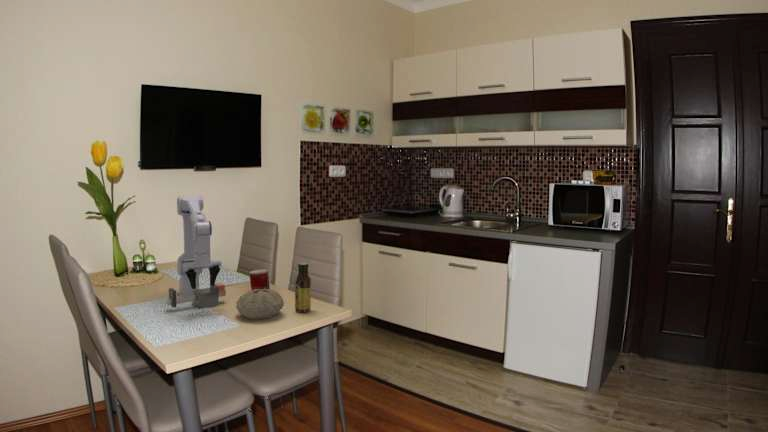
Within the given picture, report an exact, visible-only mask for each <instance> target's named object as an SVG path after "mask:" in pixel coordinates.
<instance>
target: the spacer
mask: <svg viewBox="0 0 768 432" xmlns="http://www.w3.org/2000/svg"><path fill="white" fill-rule="evenodd" d="M215 284H216V285H218V292H222V291H225V290H226V285H225V284H224V283H222V282H219V283H218V282H217V283H215Z"/></svg>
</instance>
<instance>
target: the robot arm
mask: <svg viewBox="0 0 768 432" xmlns="http://www.w3.org/2000/svg"><path fill="white" fill-rule="evenodd" d="M176 208H177V209H176V211H177V215H179V216H182V221H183V223H182V224H183V227H182V228H183V247H184V248H183V250H184V252H183V253H181V254H180V255H179V256H178V258H177V265H176V269H177V274H178V276H180V277H179V280H178V284H179V285H178V287H179V291H176V294H178V296H182V295H189V294H193V290H198V289H200V275H201V274H202V273H203V270H204V269H208V271H209V281H210V282H209V286H210V285H212V286H214V285H215V284H216V281H217V277H218V275H219V274H220V271H221V267H222V261H220V260H215V261H211V236H212V234H213V227H212V226H213V225H212V222H211V220H207V218H206V215H205V213H204V212H202V211H203V209H204V198H203V197H202V195H198V196H197V195H195V196H194V195H192V196H191V195H189V196H187V195H185V196H184V195H183V196H181V195H179V196H178V197H177V200H176Z"/></svg>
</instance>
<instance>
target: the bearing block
mask: <svg viewBox="0 0 768 432" xmlns="http://www.w3.org/2000/svg"><path fill="white" fill-rule="evenodd" d="M216 284H217V283H215V285H214V286H212V285H210V284H209V287H207V288H205V287H204V288H201V289H200V288H199V289H198V290H193V294H195V293H196V294H197V301H192V305H193V306H194V305H195V308H197V307H198V308H197V309H199V310H200V308H201V309H206V308H211V307H217V306H219V305H220V304H219V303H220V302H219V301H220V300H219V298H220V297H219V295H218V285H216Z"/></svg>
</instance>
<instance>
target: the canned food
mask: <svg viewBox="0 0 768 432" xmlns="http://www.w3.org/2000/svg"><path fill="white" fill-rule="evenodd" d="M249 279H250V280H249V281H250V289H251V290H255V289H256V290H257V289H260V290H261V289H270V279H269V271H268V269H266V268H264V269H263V268H262V269H256V270H255V269H254V270H252V271H249ZM251 290H250V291H251Z"/></svg>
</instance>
